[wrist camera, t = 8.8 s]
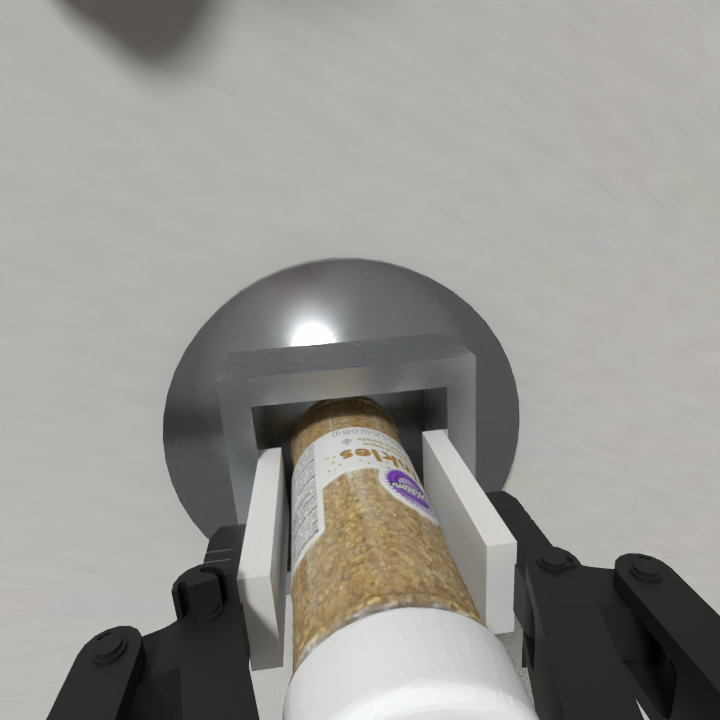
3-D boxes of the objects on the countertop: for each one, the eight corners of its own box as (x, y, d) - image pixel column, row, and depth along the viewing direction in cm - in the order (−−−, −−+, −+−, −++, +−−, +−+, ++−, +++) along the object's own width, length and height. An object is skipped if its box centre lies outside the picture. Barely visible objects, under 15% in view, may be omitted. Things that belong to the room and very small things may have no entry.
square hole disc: (199, 593, 23) (176, 679, 19) (137, 273, 19) (88, 289, 14) (506, 551, 24) (550, 623, 20) (514, 244, 20) (571, 251, 16)
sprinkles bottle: (413, 410, 21) (612, 730, 8) (371, 501, 22) (486, 918, 9) (311, 374, 20) (349, 675, 7) (272, 471, 20) (238, 896, 8)
